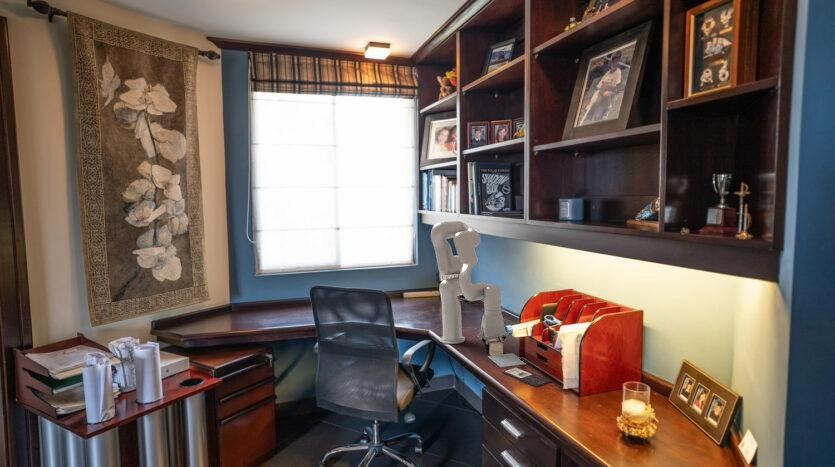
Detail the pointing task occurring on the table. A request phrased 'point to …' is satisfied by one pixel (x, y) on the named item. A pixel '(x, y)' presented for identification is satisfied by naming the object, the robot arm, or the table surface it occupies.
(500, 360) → the desk mat
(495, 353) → the maple block
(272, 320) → the table surface
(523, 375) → the chocolate bar
